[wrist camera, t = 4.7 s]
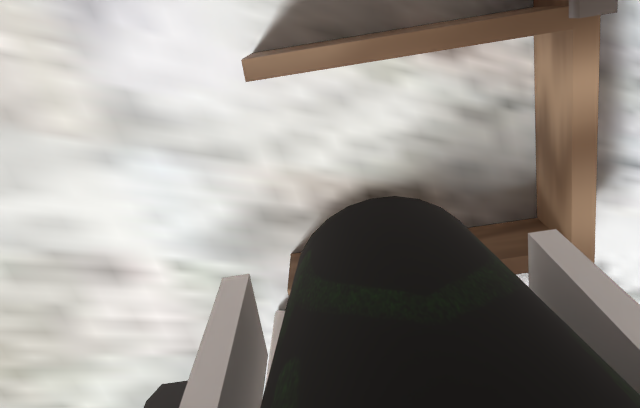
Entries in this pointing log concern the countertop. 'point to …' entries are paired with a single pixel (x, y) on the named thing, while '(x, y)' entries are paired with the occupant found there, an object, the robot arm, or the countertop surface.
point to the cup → (424, 323)
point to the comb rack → (550, 105)
